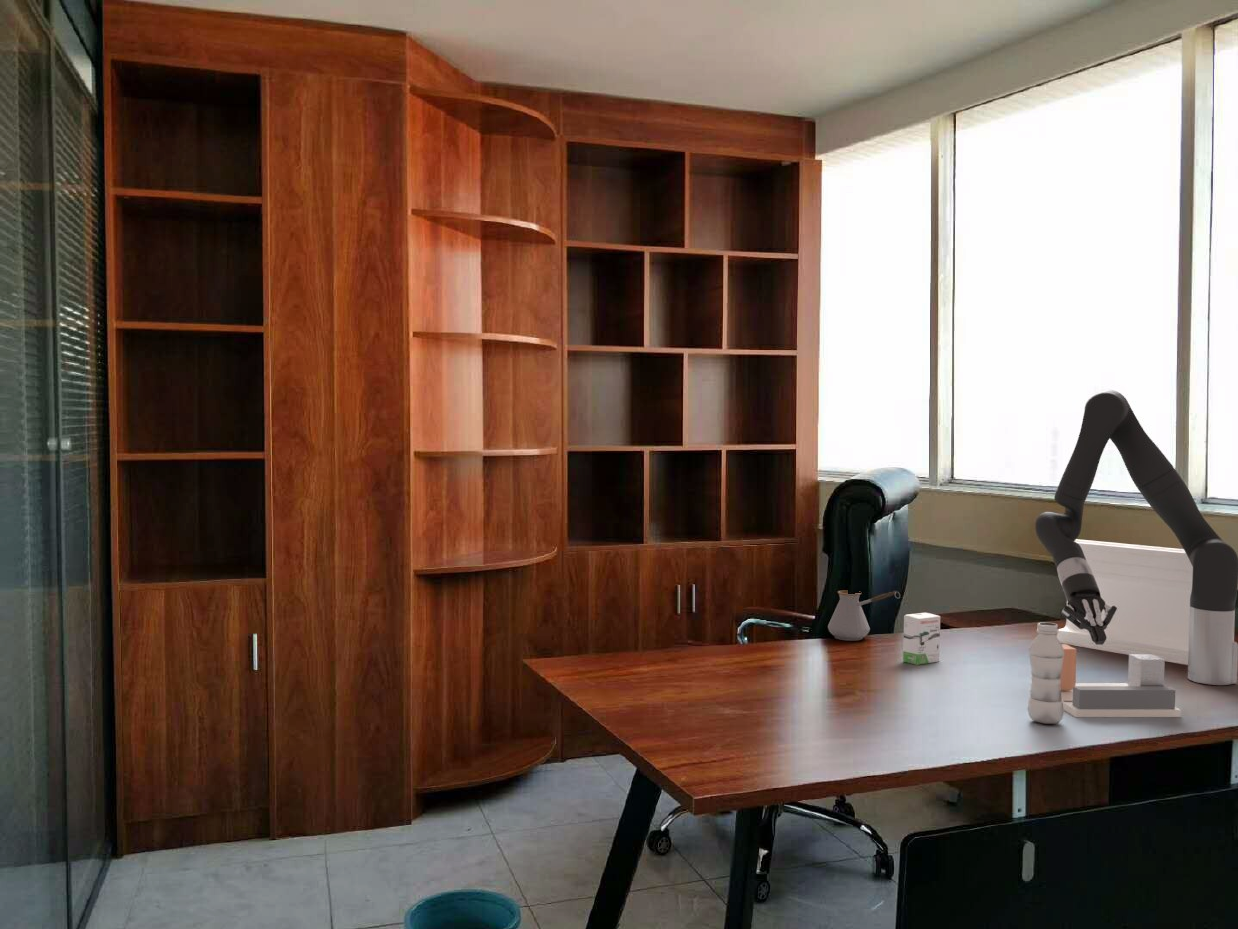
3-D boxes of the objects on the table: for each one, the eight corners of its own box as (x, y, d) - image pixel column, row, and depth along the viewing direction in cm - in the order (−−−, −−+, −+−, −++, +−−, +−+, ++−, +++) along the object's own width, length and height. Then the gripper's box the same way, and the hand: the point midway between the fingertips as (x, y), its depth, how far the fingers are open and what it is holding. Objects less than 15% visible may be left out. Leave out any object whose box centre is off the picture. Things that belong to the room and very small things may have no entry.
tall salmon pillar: (1042, 684, 237) (1043, 644, 236) (1065, 684, 237) (1066, 644, 236) (1052, 690, 232) (1053, 649, 231) (1075, 690, 232) (1076, 649, 231)
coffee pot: (819, 637, 296) (820, 584, 295) (843, 632, 303) (844, 580, 303) (886, 650, 280) (887, 593, 279) (909, 644, 288) (910, 589, 287)
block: (1204, 661, 270) (1208, 551, 269) (1191, 665, 265) (1195, 554, 264) (1070, 638, 297) (1073, 539, 296) (1056, 642, 292) (1059, 541, 290)
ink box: (917, 665, 263) (918, 618, 262) (901, 661, 267) (902, 615, 266) (940, 661, 267) (941, 614, 267) (924, 657, 272) (925, 611, 271)
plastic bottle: (1060, 729, 209) (1062, 628, 208) (1024, 724, 212) (1026, 624, 212) (1066, 721, 214) (1068, 623, 213) (1030, 716, 218) (1033, 619, 217)
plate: (1030, 689, 240) (1031, 665, 239) (1126, 689, 240) (1127, 665, 240) (1075, 717, 218) (1075, 690, 217) (1180, 717, 218) (1181, 690, 218)
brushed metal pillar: (1127, 696, 227) (1128, 654, 227) (1150, 696, 227) (1151, 654, 227) (1139, 702, 222) (1141, 659, 222) (1163, 702, 222) (1164, 659, 222)
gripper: (1055, 571, 251) (1078, 633, 239) (1110, 571, 251) (1135, 633, 240) (1045, 590, 256) (1066, 651, 245) (1099, 590, 257) (1123, 652, 245)
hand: (1100, 642), depth 242 cm, fingers closed
